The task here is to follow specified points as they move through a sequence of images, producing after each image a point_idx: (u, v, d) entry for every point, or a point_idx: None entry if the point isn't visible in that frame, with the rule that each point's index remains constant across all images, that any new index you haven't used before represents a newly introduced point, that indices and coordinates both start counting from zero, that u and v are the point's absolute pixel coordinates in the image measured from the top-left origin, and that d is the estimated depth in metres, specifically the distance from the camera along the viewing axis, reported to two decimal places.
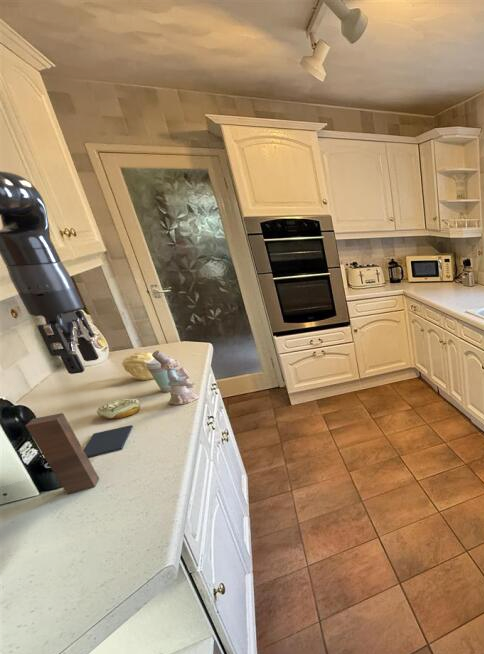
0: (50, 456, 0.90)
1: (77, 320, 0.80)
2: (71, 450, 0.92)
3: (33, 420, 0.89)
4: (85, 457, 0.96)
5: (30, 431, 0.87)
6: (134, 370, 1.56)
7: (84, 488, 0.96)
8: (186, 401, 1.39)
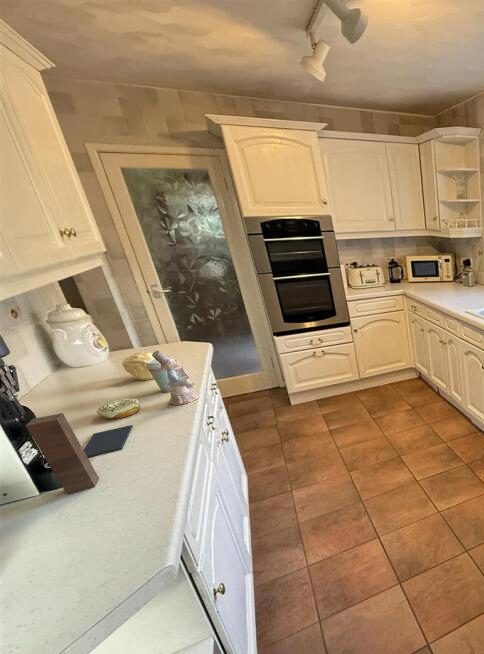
0: (50, 456, 0.90)
1: (3, 365, 0.78)
2: (71, 450, 0.92)
3: (33, 420, 0.89)
4: (85, 457, 0.96)
5: (30, 431, 0.87)
6: (134, 370, 1.56)
7: (84, 488, 0.96)
8: (186, 401, 1.39)
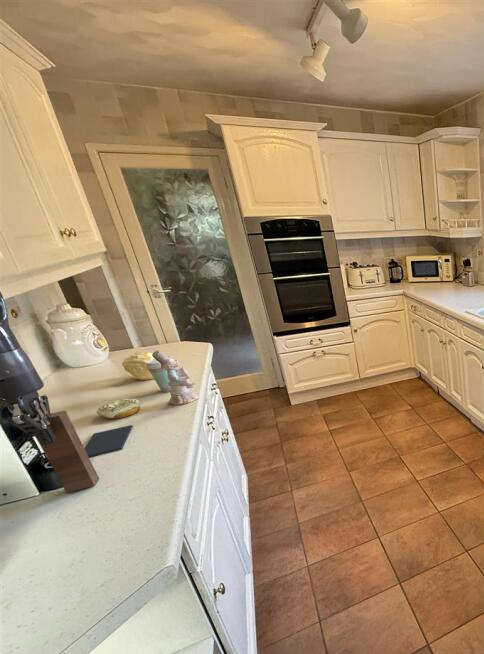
0: (51, 453, 0.91)
1: (38, 396, 0.86)
2: (71, 447, 0.93)
3: None
4: (86, 456, 0.97)
5: None
6: (134, 370, 1.56)
7: (83, 487, 0.96)
8: (186, 401, 1.39)
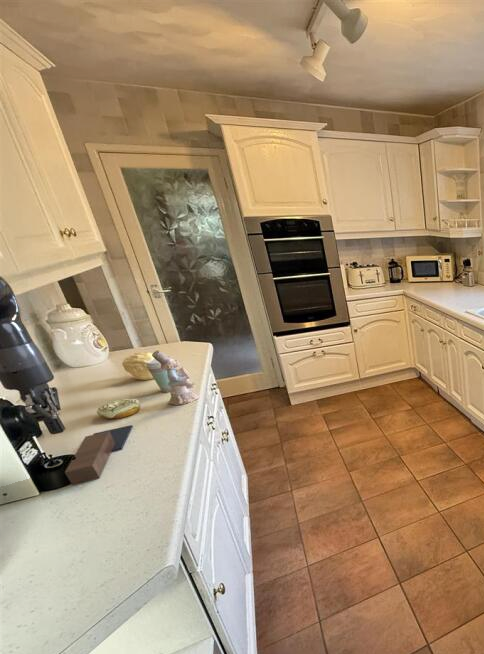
0: (81, 450, 1.04)
1: (48, 388, 0.91)
2: (100, 445, 1.06)
3: None
4: (104, 460, 1.05)
5: (85, 438, 1.09)
6: (134, 370, 1.56)
7: (82, 467, 0.98)
8: (186, 401, 1.39)
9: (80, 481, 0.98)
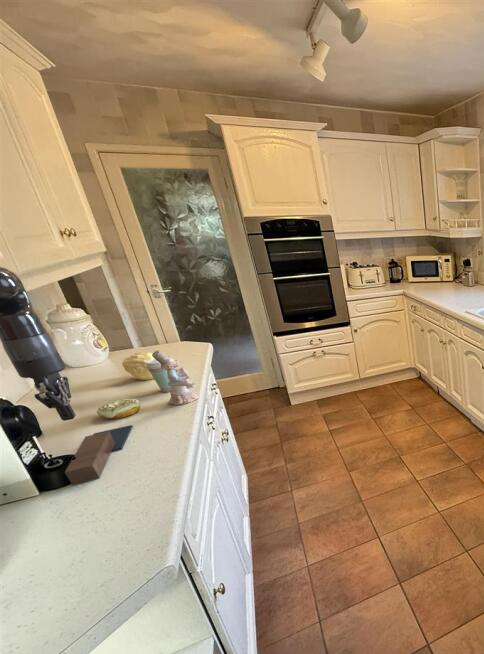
0: (81, 450, 1.04)
1: (60, 377, 0.97)
2: (100, 445, 1.06)
3: None
4: (104, 460, 1.05)
5: (85, 438, 1.09)
6: (134, 370, 1.56)
7: (82, 467, 0.98)
8: (186, 401, 1.39)
9: (80, 481, 0.98)
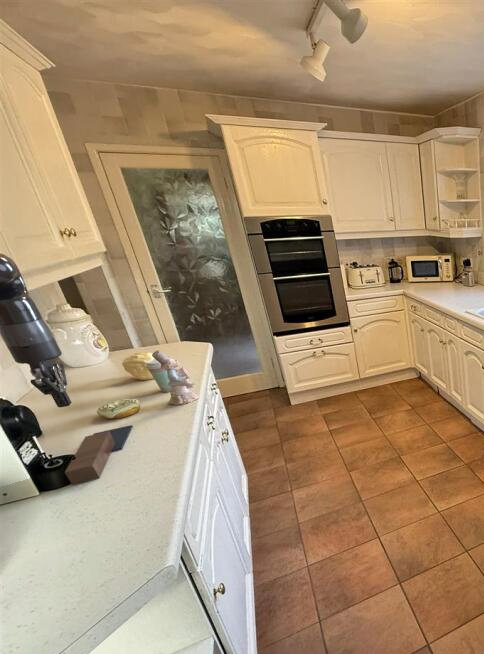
0: (81, 450, 1.04)
1: (56, 363, 0.97)
2: (100, 445, 1.06)
3: None
4: (104, 460, 1.05)
5: (85, 438, 1.09)
6: (134, 370, 1.56)
7: (82, 467, 0.98)
8: (186, 401, 1.39)
9: (80, 481, 0.98)
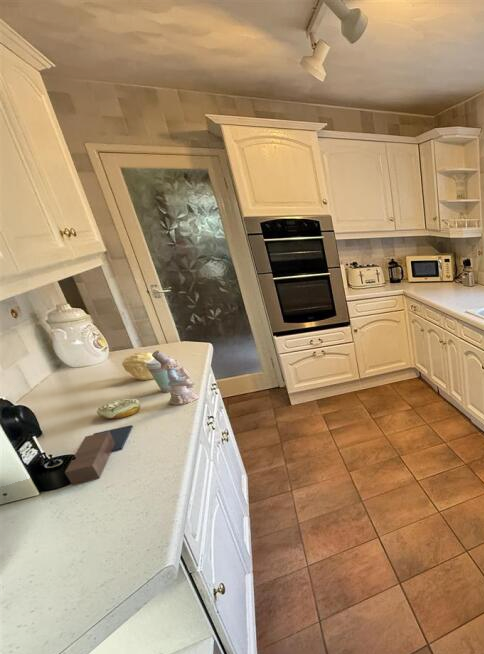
0: (81, 450, 1.04)
1: None
2: (100, 445, 1.06)
3: None
4: (104, 460, 1.05)
5: (85, 438, 1.09)
6: (134, 370, 1.56)
7: (82, 467, 0.98)
8: (186, 401, 1.39)
9: (80, 481, 0.98)
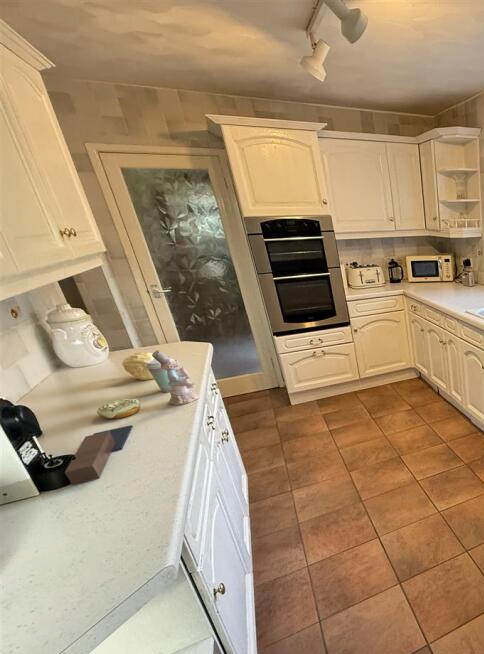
0: (81, 450, 1.04)
1: None
2: (100, 445, 1.06)
3: None
4: (104, 460, 1.05)
5: (85, 438, 1.09)
6: (134, 370, 1.56)
7: (82, 467, 0.98)
8: (186, 401, 1.39)
9: (80, 481, 0.98)
